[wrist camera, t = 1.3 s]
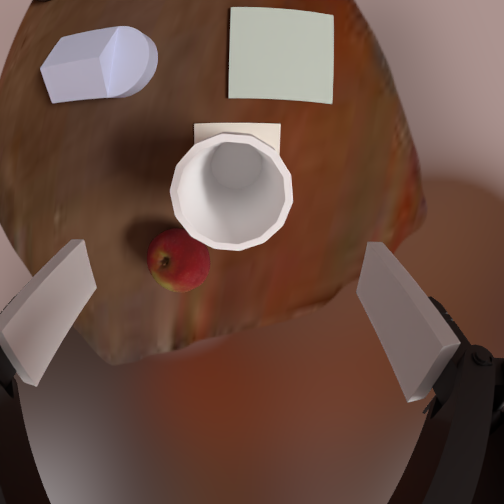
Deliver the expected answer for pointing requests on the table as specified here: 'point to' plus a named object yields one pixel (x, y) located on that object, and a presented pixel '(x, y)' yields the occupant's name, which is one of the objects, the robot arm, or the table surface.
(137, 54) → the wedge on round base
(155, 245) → the apple
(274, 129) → the cream card
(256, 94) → the sage mat
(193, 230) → the foam cup
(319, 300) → the table surface
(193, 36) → the table surface
